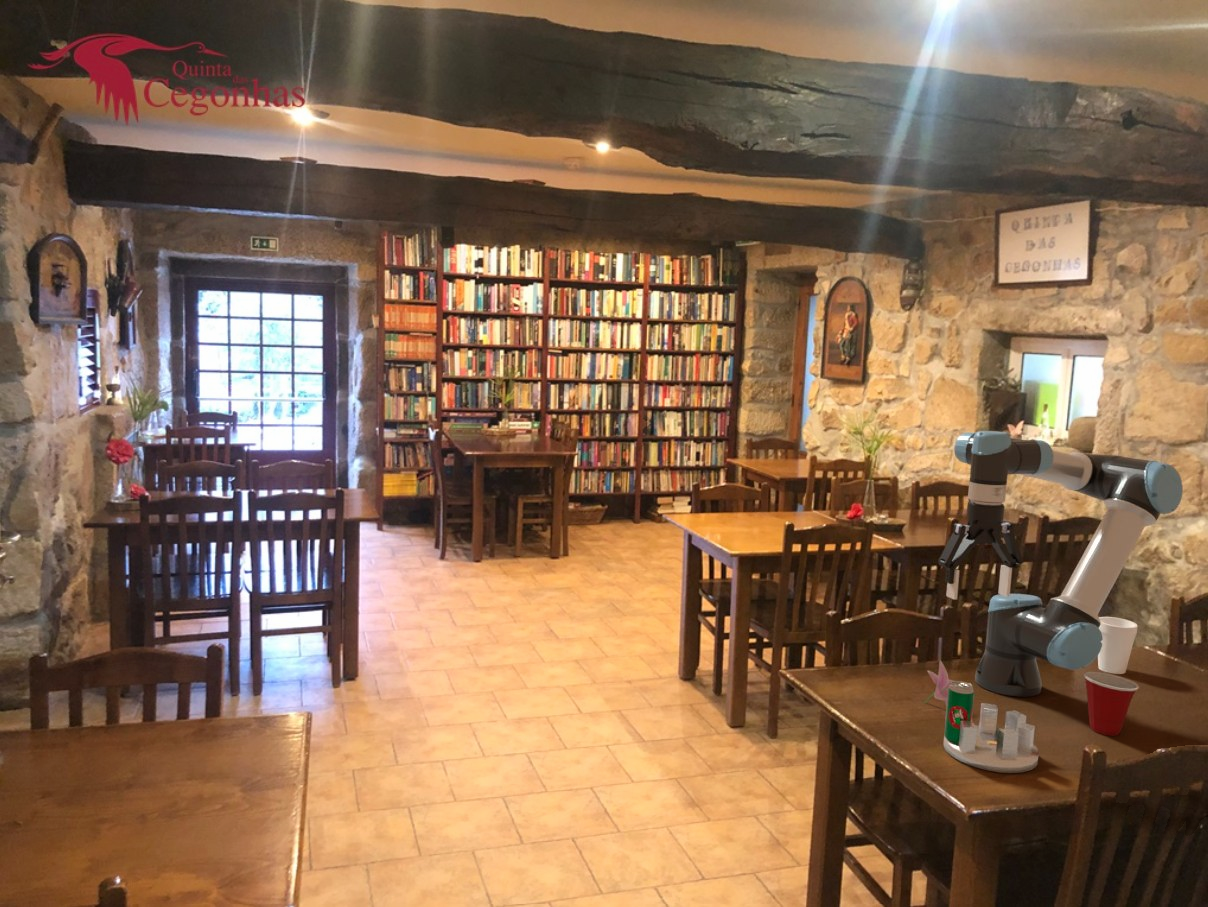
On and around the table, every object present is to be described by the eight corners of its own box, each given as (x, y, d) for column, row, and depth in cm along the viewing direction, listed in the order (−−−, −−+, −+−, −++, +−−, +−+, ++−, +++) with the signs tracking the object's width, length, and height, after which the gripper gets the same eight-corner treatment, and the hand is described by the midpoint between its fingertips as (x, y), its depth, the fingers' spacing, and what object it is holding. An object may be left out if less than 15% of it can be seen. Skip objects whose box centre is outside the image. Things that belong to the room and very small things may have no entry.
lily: (923, 722, 206) (948, 691, 203) (898, 684, 216) (921, 655, 213) (961, 730, 211) (986, 701, 208) (934, 693, 221) (957, 665, 217)
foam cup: (1139, 677, 237) (1144, 628, 235) (1103, 675, 237) (1108, 627, 235) (1119, 664, 246) (1124, 617, 245) (1085, 662, 246) (1089, 616, 245)
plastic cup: (1145, 738, 199) (1151, 685, 197) (1105, 743, 196) (1111, 689, 194) (1105, 718, 209) (1110, 668, 208) (1067, 722, 206) (1072, 671, 205)
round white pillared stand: (934, 730, 199) (937, 697, 198) (1020, 737, 196) (1023, 704, 196) (955, 768, 181) (959, 732, 180) (1051, 776, 179) (1054, 740, 178)
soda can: (956, 733, 193) (961, 678, 191) (975, 742, 188) (980, 687, 187) (938, 737, 190) (943, 681, 189) (957, 747, 186) (962, 690, 184)
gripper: (947, 506, 192) (939, 603, 195) (1046, 504, 199) (1037, 598, 202) (926, 499, 199) (918, 594, 202) (1021, 498, 206) (1013, 589, 209)
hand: (977, 596), depth 202 cm, fingers open, 13 cm apart
